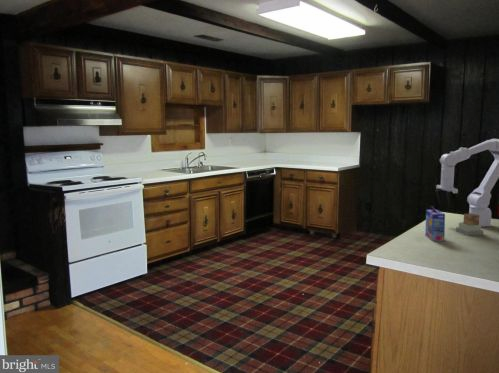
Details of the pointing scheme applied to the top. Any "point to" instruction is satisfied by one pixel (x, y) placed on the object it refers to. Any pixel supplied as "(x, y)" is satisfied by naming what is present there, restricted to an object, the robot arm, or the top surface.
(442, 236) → the ink cartridge box
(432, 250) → the top surface
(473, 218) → the walnut cube
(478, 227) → the top tile
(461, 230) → the base tile
